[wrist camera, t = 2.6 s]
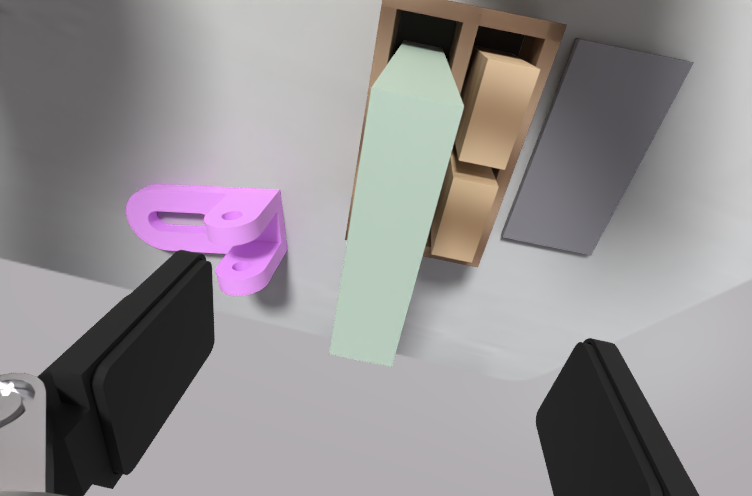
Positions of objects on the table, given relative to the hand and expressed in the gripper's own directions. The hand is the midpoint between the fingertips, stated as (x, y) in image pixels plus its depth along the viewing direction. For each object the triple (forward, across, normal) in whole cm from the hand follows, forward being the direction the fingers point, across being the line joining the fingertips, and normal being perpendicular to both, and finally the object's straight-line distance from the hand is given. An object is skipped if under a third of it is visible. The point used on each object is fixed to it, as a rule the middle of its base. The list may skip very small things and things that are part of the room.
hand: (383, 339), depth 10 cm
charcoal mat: (+22, -12, -1) cm, 25 cm away
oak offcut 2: (+22, -4, +2) cm, 22 cm away
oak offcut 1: (+22, -4, -4) cm, 22 cm away
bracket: (+22, +15, +10) cm, 29 cm away
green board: (+22, +1, -1) cm, 22 cm away
